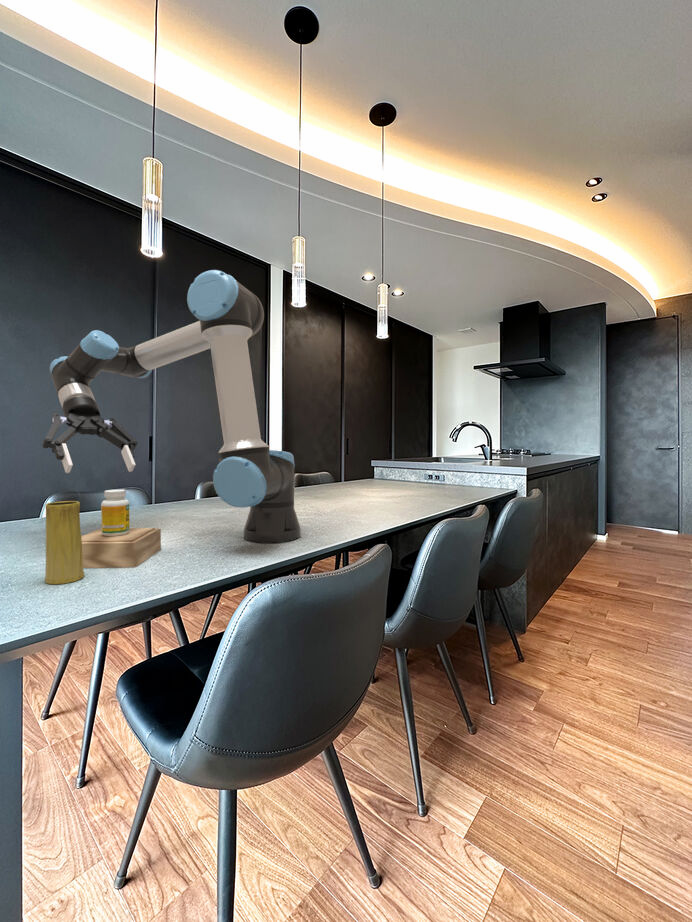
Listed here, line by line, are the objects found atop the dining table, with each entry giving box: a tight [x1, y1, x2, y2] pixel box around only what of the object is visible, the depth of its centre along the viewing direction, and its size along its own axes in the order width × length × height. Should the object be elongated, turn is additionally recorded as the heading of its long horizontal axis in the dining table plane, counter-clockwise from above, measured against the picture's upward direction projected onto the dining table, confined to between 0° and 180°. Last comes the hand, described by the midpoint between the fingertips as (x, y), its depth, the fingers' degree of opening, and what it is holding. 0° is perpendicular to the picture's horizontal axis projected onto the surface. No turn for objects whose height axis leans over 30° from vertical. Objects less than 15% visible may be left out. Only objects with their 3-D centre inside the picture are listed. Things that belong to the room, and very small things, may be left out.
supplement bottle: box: [100, 488, 131, 536], centre depth 91 cm, size 5×5×10 cm
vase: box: [44, 500, 85, 585], centre depth 77 cm, size 6×6×14 cm
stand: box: [81, 527, 162, 569], centre depth 91 cm, size 14×14×5 cm
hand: (102, 468), depth 97 cm, fingers open, 13 cm apart
